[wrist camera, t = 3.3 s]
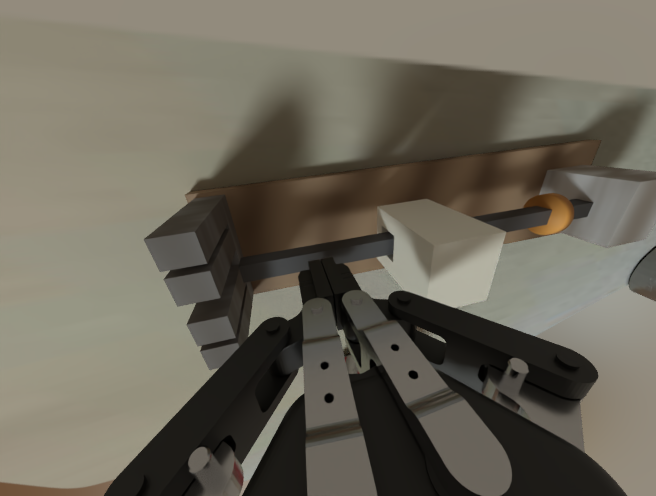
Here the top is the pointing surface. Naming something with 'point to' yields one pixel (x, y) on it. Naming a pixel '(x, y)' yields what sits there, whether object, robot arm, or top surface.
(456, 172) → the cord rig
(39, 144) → the top surface
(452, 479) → the robot arm
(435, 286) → the sleeve
